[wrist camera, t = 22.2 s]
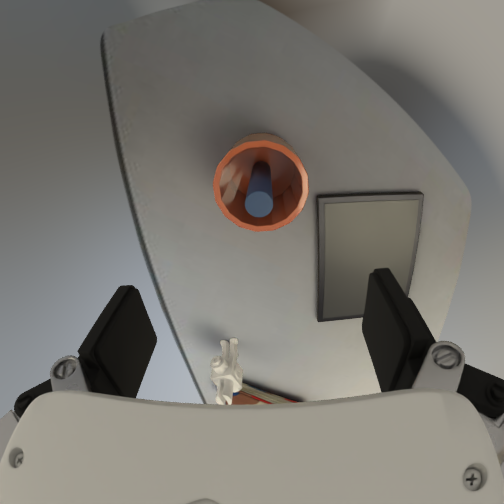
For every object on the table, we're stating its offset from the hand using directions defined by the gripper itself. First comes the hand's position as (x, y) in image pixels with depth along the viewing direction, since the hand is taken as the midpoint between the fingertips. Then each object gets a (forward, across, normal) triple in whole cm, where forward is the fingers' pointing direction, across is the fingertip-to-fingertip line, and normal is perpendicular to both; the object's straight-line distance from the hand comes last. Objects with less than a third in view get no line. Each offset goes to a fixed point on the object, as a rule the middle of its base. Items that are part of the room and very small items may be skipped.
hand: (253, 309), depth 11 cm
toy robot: (+26, +8, +29) cm, 40 cm away
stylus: (+26, 0, 0) cm, 26 cm away
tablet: (+26, -14, +14) cm, 33 cm away
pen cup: (+26, 0, 0) cm, 26 cm away
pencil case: (+26, +4, +45) cm, 53 cm away
